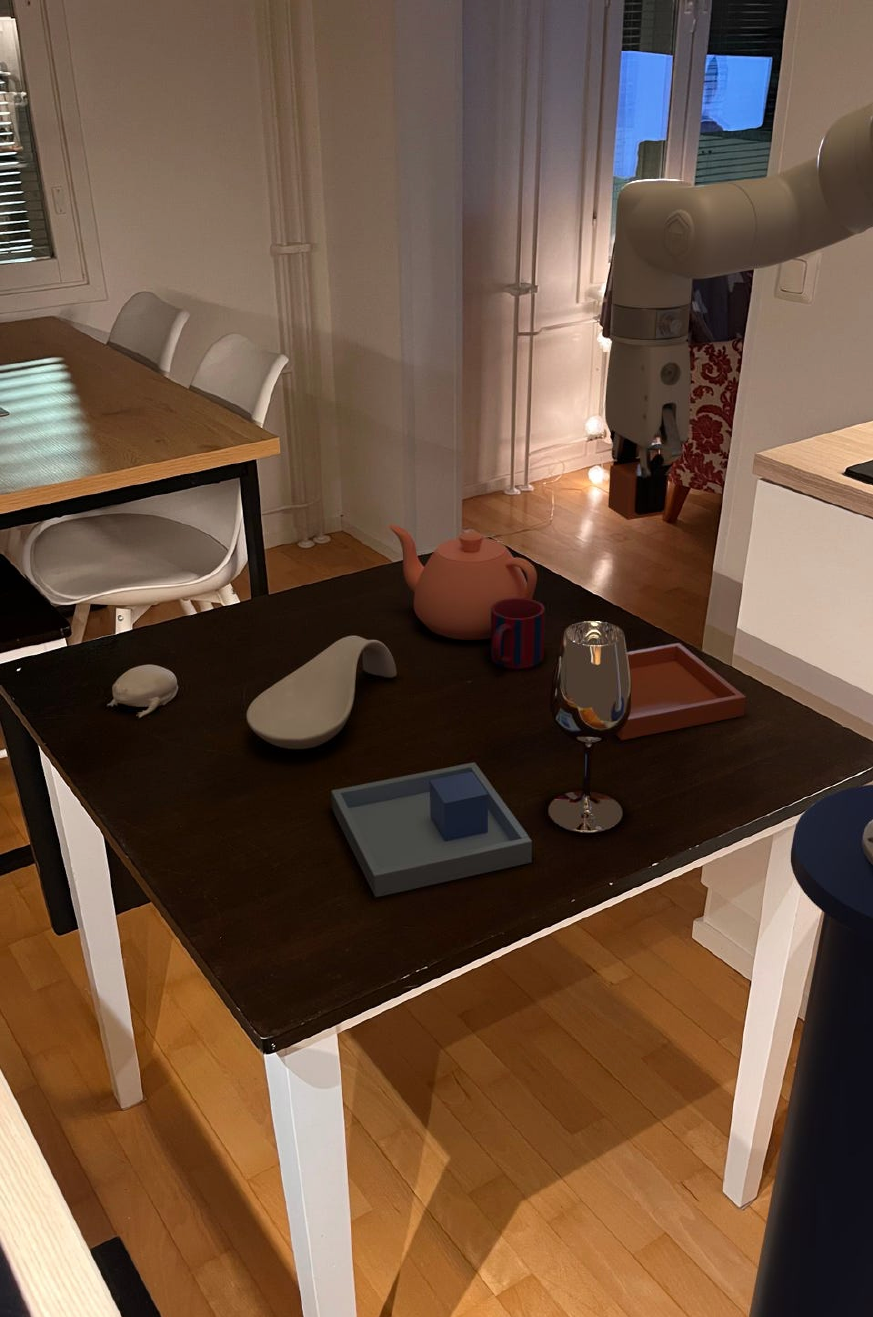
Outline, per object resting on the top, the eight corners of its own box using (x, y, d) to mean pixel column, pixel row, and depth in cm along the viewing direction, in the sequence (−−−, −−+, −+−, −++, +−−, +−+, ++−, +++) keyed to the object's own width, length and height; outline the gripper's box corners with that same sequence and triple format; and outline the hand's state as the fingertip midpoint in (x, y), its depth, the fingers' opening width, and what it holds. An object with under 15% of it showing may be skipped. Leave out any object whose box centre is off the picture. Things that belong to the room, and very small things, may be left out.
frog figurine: (140, 720, 139) (135, 692, 137) (100, 706, 143) (95, 678, 141) (188, 693, 145) (184, 665, 143) (149, 680, 148) (144, 653, 146)
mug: (552, 653, 152) (554, 604, 148) (513, 684, 145) (514, 633, 141) (507, 642, 155) (508, 593, 152) (467, 671, 148) (466, 621, 144)
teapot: (366, 629, 160) (361, 541, 153) (420, 588, 171) (417, 504, 165) (516, 658, 151) (517, 566, 144) (562, 613, 163) (565, 526, 156)
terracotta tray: (743, 715, 137) (746, 696, 135) (621, 740, 133) (622, 720, 131) (677, 660, 149) (679, 642, 148) (564, 681, 145) (565, 662, 144)
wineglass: (534, 802, 122) (538, 624, 112) (601, 786, 124) (611, 610, 114) (567, 842, 116) (575, 657, 105) (638, 824, 118) (652, 642, 108)
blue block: (488, 832, 117) (488, 794, 114) (445, 841, 116) (444, 803, 113) (472, 809, 120) (471, 771, 118) (430, 817, 119) (429, 780, 117)
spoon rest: (317, 773, 128) (312, 715, 124) (229, 750, 133) (221, 693, 129) (420, 682, 146) (419, 629, 142) (339, 665, 151) (335, 612, 147)
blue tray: (531, 862, 113) (532, 841, 112) (375, 897, 109) (373, 875, 108) (474, 782, 126) (474, 761, 125) (332, 810, 122) (331, 790, 120)
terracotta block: (666, 514, 124) (669, 471, 121) (627, 520, 123) (630, 477, 120) (645, 501, 127) (648, 460, 125) (607, 507, 126) (610, 465, 124)
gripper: (729, 334, 109) (710, 525, 119) (643, 304, 123) (632, 477, 133) (657, 342, 107) (643, 535, 117) (577, 310, 121) (571, 485, 131)
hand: (637, 502), depth 125 cm, fingers closed on terracotta block, 4 cm apart
